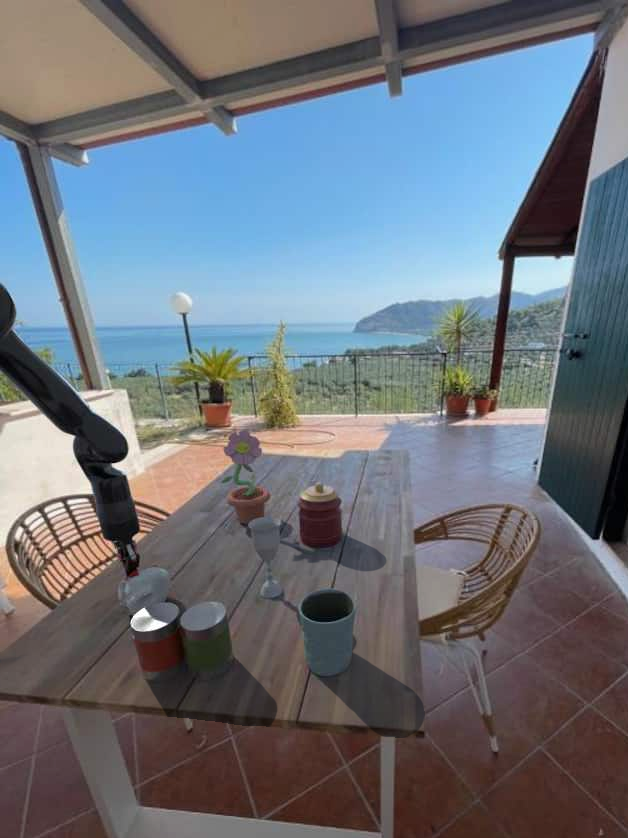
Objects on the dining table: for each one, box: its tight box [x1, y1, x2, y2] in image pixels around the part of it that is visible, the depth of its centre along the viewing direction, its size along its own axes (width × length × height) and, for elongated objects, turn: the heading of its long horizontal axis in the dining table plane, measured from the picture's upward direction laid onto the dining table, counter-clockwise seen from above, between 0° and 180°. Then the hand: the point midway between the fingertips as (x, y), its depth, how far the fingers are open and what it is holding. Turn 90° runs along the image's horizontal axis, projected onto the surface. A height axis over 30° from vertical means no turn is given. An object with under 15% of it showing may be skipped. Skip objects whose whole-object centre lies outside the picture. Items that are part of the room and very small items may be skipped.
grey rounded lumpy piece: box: [117, 565, 173, 616], centre depth 87 cm, size 9×11×15 cm
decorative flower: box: [220, 430, 271, 525], centre depth 125 cm, size 15×14×30 cm
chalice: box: [247, 516, 283, 599], centre depth 90 cm, size 7×7×18 cm
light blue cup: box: [298, 588, 357, 677], centre depth 71 cm, size 10×10×12 cm
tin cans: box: [130, 601, 234, 683], centre depth 70 cm, size 16×8×11 cm, turn 91°
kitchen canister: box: [297, 482, 343, 548], centre depth 115 cm, size 13×13×18 cm
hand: (133, 580), depth 95 cm, fingers closed
